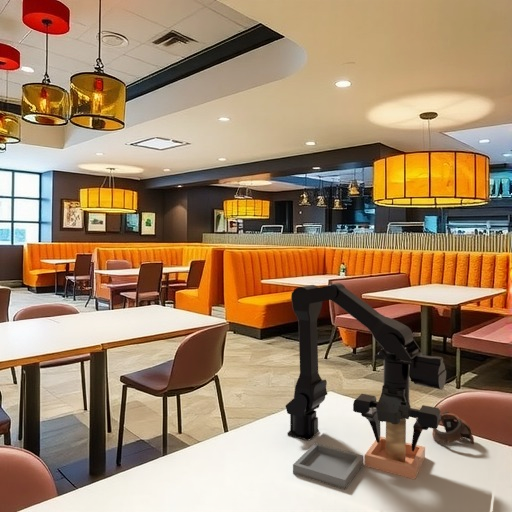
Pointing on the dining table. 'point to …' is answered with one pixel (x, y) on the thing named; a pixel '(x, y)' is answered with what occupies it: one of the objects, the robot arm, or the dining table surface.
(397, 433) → the maple peg
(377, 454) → the terracotta dish
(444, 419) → the dark brown vr controller
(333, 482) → the charcoal tray
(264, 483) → the dining table surface
